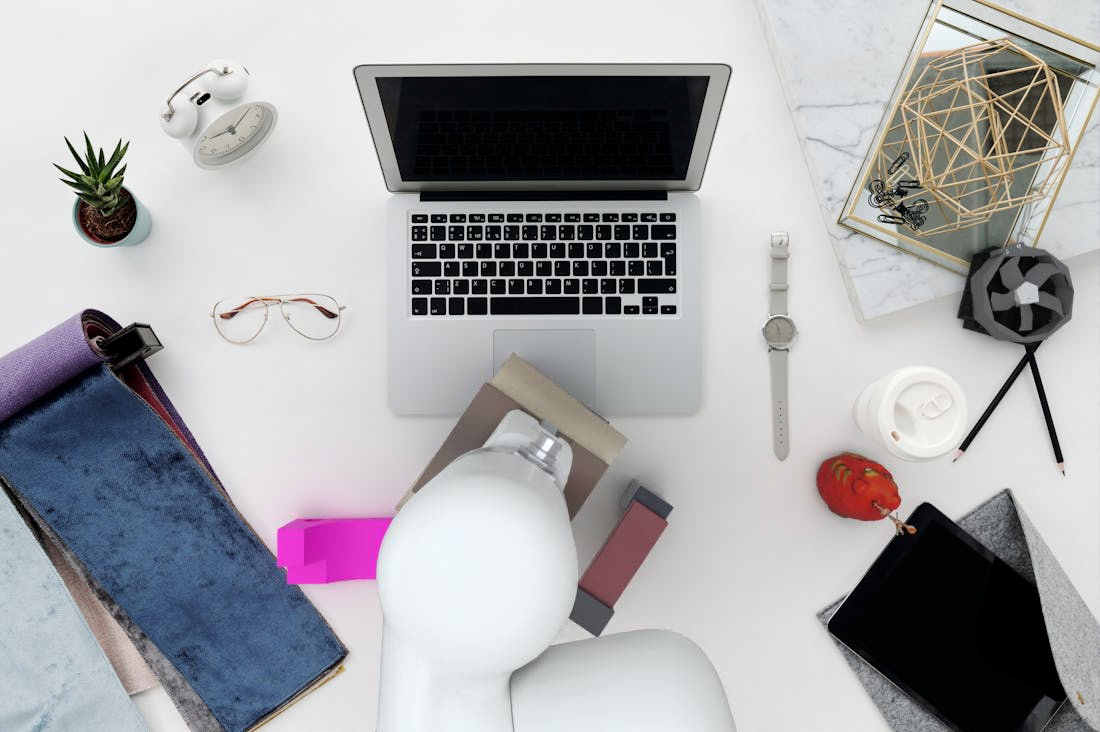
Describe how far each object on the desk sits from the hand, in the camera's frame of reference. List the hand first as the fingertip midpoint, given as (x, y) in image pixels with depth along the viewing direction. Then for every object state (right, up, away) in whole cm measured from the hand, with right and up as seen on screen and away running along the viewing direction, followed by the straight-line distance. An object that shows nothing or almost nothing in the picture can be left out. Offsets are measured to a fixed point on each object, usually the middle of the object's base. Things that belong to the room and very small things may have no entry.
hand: (509, 478), depth 57 cm
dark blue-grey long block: (+10, -10, +28) cm, 31 cm away
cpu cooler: (+53, +16, +29) cm, 63 cm away
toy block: (-17, -11, +28) cm, 34 cm away
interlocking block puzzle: (0, -1, +28) cm, 28 cm away
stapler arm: (+9, -11, +20) cm, 25 cm away
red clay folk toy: (+36, -5, +29) cm, 46 cm away
